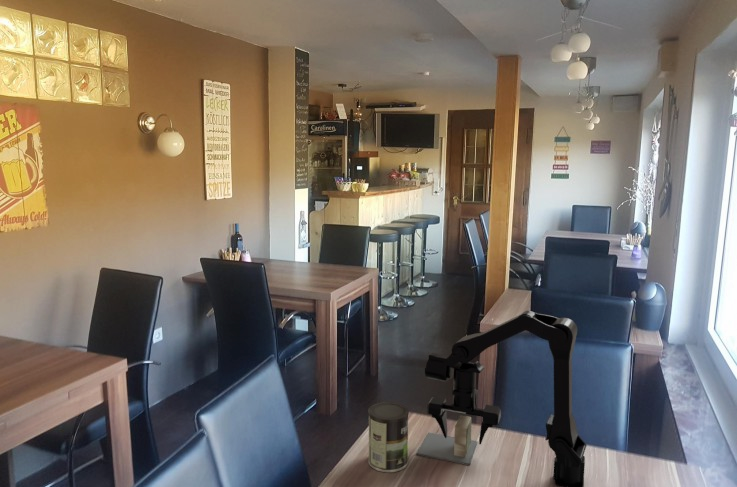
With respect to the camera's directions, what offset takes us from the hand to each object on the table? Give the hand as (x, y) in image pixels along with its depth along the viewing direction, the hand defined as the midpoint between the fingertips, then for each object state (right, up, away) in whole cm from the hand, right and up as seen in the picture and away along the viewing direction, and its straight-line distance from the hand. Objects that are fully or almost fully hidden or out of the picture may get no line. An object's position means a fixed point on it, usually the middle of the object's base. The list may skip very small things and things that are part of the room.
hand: (462, 440), depth 144 cm
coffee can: (-20, -4, -4) cm, 21 cm away
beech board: (0, -3, 0) cm, 3 cm away
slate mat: (-4, -3, +2) cm, 5 cm away
